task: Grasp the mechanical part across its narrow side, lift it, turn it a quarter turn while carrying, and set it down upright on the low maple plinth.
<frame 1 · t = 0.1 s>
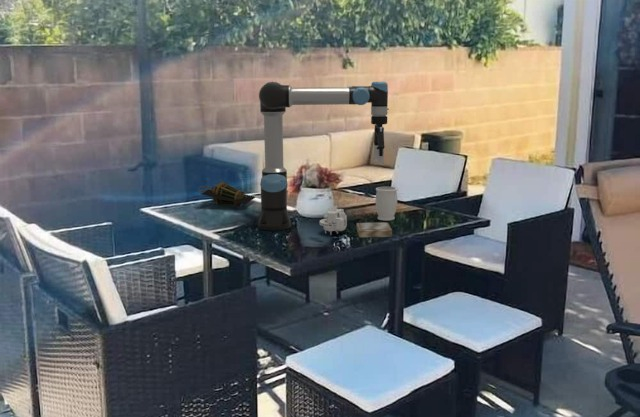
hand: (378, 161, 316), 28 cm above the table, fingers open, 13 cm apart
lantern: (224, 205, 355), on the table
mechanical part: (332, 233, 296), on the table
stand: (373, 233, 295), on the table
jar: (386, 219, 322), on the table
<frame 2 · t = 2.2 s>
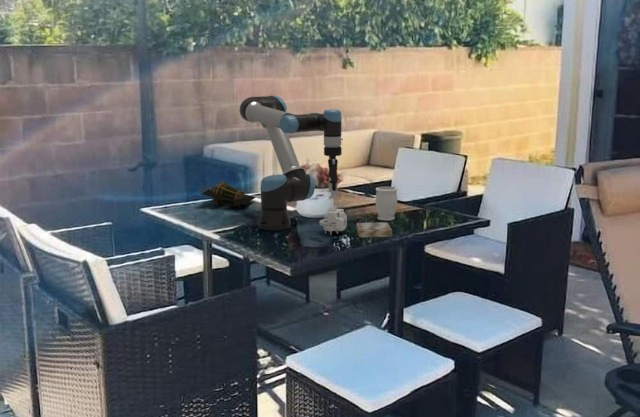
hand: (333, 195, 292), 17 cm above the table, fingers open, 13 cm apart
nothing on the table moved.
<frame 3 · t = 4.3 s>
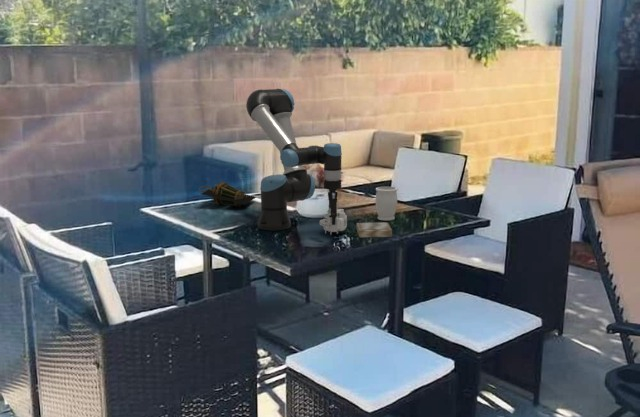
hand: (332, 228, 295), 2 cm above the table, fingers closed on mechanical part, 11 cm apart
mechanical part: (332, 233, 295), on the table, touching gripper
everything else where it was.
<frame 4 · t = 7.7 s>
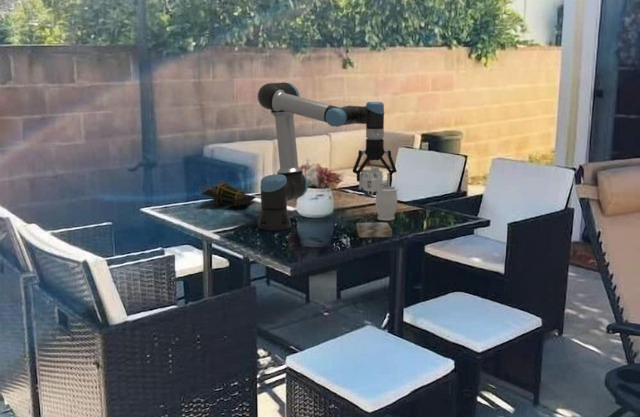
hand: (374, 188, 291), 20 cm above the table, fingers closed on mechanical part, 11 cm apart
mechanical part: (373, 194, 291), point 17 cm above the table, touching gripper
everything else where it was.
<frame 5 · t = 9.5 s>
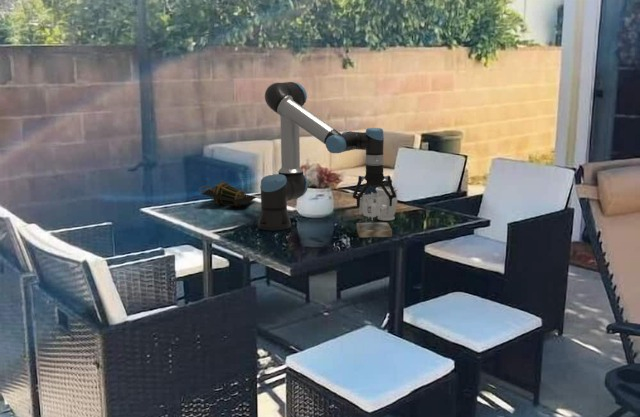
hand: (374, 213, 293), 9 cm above the table, fingers closed on mechanical part, 11 cm apart
mechanical part: (373, 219, 294), point 6 cm above the table, touching gripper
everything else where it was.
when the fingers open (7 cm above the table, at t = 11.1 s): mechanical part drops 1 cm, resting on stand.
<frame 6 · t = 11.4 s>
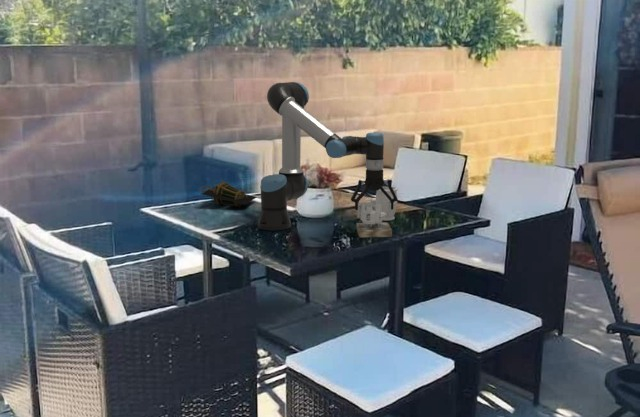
hand: (374, 217, 294), 7 cm above the table, fingers open, 13 cm apart
mechanical part: (372, 226, 294), point 3 cm above the table, touching stand
everything else where it was.
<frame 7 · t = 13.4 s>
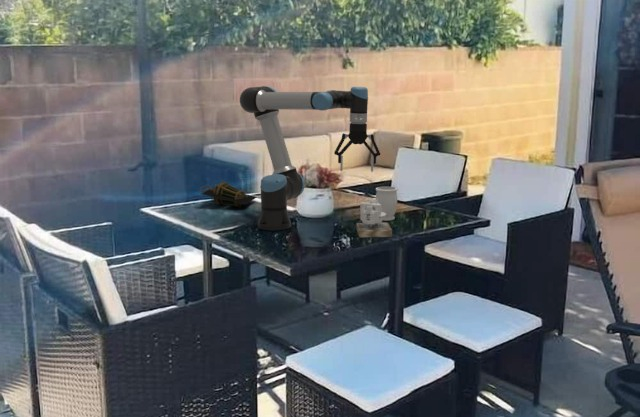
hand: (356, 171, 298), 26 cm above the table, fingers open, 13 cm apart
nothing on the table moved.
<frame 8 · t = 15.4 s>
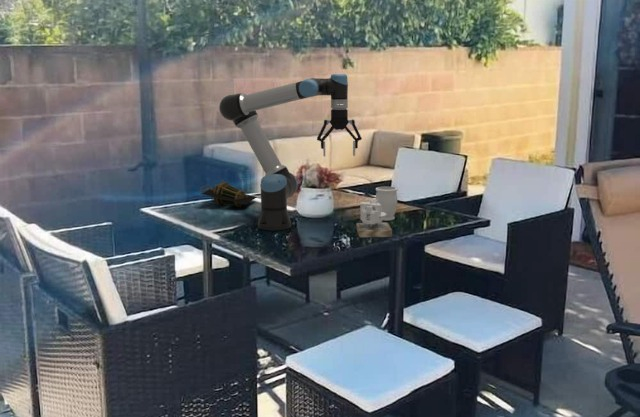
hand: (339, 155, 307), 32 cm above the table, fingers open, 13 cm apart
nothing on the table moved.
at the end: mechanical part inside the target area on the stand (0.5 cm from its centre), point 3.1 cm above the stand's base; mechanical part tilted 0°; the gripper is holding nothing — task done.
